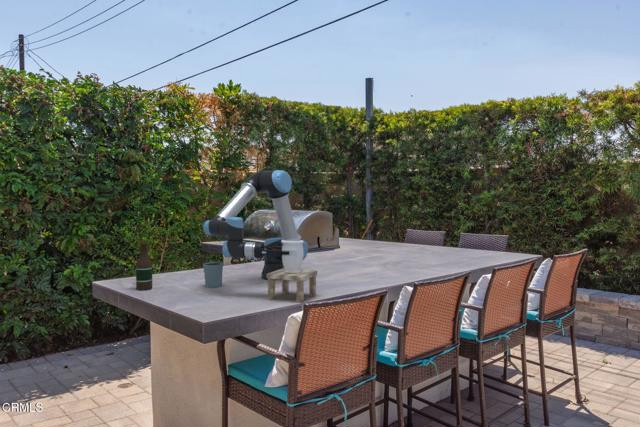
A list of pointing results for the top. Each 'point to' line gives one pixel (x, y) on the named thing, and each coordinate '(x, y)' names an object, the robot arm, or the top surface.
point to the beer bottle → (143, 269)
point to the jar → (292, 262)
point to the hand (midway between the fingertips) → (299, 251)
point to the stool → (292, 276)
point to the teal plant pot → (213, 274)
